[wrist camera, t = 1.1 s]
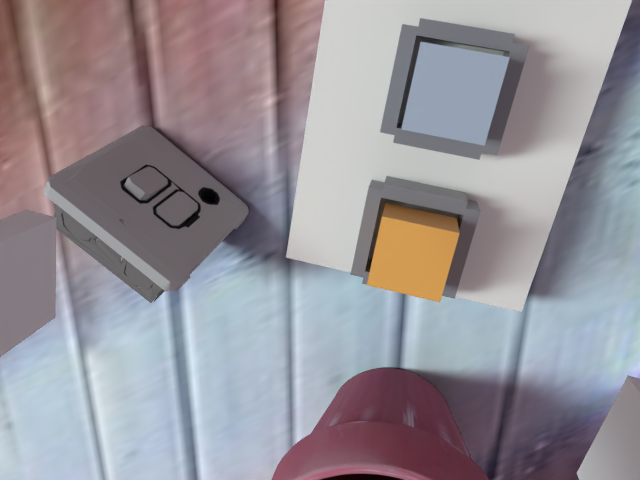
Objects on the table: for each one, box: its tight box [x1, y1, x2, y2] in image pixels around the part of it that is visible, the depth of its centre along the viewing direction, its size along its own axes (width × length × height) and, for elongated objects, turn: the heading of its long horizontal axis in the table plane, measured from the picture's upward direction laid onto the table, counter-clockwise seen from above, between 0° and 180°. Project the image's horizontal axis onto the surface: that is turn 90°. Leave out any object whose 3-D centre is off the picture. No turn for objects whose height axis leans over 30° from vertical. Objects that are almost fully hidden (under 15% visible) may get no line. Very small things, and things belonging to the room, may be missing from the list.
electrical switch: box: [44, 126, 249, 303], centre depth 32 cm, size 9×5×9 cm, turn 51°
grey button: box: [401, 42, 510, 146], centre depth 25 cm, size 4×4×3 cm
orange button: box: [367, 203, 460, 302], centre depth 28 cm, size 4×4×3 cm
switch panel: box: [286, 0, 632, 312], centre depth 28 cm, size 26×15×5 cm, turn 170°
